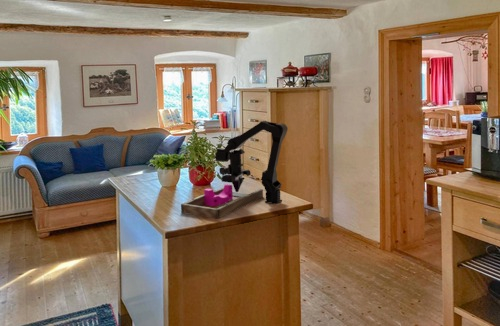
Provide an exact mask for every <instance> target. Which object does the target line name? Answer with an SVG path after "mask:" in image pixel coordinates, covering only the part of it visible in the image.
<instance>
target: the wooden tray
mask: <svg viewBox="0 0 500 326" xmlns="http://www.w3.org/2000/svg"><path fill="white" fill-rule="evenodd" d="M223 189H224V187H221V188H219V189H217V190H213V192H214V194H215V195H219V194H220V193H221V192H222V191H223ZM263 191H264V190H263V188H259V189H257V190H255V191H253V192H251V193H242V192H236V191H235V192H233V191H232V194H233V197H235V198H236V199H232V200H230V201H229V202H227V203H225V205H222V206H220V207H218V208H215V207H214V208H213V207H210V206H209V207H208V206H203V205H206V204H205V197H204V194H201V195H199V196H196V197H194V198H192V199H191V200H188V201H185V202H183V203H181V204H180V209H181V210H180V211H181V213H182V214H189V215H195V216H199V217H200V216H201V217H207V218H211V219H218V220H219V219H220V218H222V217H224V216H226V215H229V214H230V213H232V212H235V211H237V210H239V209H241V208H242V207H245V206H246V205H247V206H248V205H249V204H251V203H253V202H255V201H257V200H259V199H261V198H263V197H264V192H263Z"/></svg>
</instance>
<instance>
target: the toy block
mask: <svg viewBox="0 0 500 326" xmlns="http://www.w3.org/2000/svg"><path fill="white" fill-rule="evenodd" d="M223 188H224V189H223V191H222V192H221V193H220V194H219V195H215V194H214V192H213V191H214V189H211V188H205V189H203V195H204V197H205V204H204V205H207V206H209V207H215V206H221V205H223V204H226V203H229V202H230V201H233V200H234V198H233V197H234V196H233V194H232V192H233V184H229V183H227V184H224V185H223Z"/></svg>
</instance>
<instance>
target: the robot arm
mask: <svg viewBox="0 0 500 326" xmlns="http://www.w3.org/2000/svg"><path fill="white" fill-rule="evenodd" d="M262 131H265V132H267V133H270V134H271V140H272V142H271V147H270V152H269V159H268V164H267V168H266V170H264V171H262V173H261V178H260V181H261V185H262V186H263V187H264V190H265V200H264V202H265V203H267V204H273V205H275V204H276V205H277V204H279V203H281V202H282V201H283V200H282V199H281V187H282V183H281V182H280V181H279V180H278V173H277V167H278V163H279V159H280V158H279V156H280V152H281V148H282V144H283V142H284V139H285V138H286V135H287V132H288V126H287V125H286V124H285V123H283V122H280V123H277V122H271V121H267V120H262V121H259V123H257V124H256V125H254V126H253V127H251V128H249V129H248V130H246V131H245V132H243V133H242V134H240V135H237V136H233V137H232V138H229V139H228V140H227V145H226V146H225V148H220V147H217V148H216V151H215V155H214V158H215V159H214V160H215V161H216V162H225V163H228V162H229V164H228V165H227V167H226V168H225V167H224V166H223V167H219V174H220V175H222V176H221V178H220V179H221V182H222V183H223V182H224V183H231V185H232V187H233V188H234V190H235V193H239V190H240V188H241V186H242V184H243V182H244V180H245V177H243V175H245V176H247V177H249V176H251V171H250V169H246V168H245V169H243V168H242V167H243V166H244V163H242V155H243V154H245V152H246V151H244V150H243V148H241V147H242V146H244V144H245V143H246V142H247V141H248V140H250V139H252V138H253V137H254V136H256V135H258V134H259V133H261V132H262ZM236 149H237V150H236Z"/></svg>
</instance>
